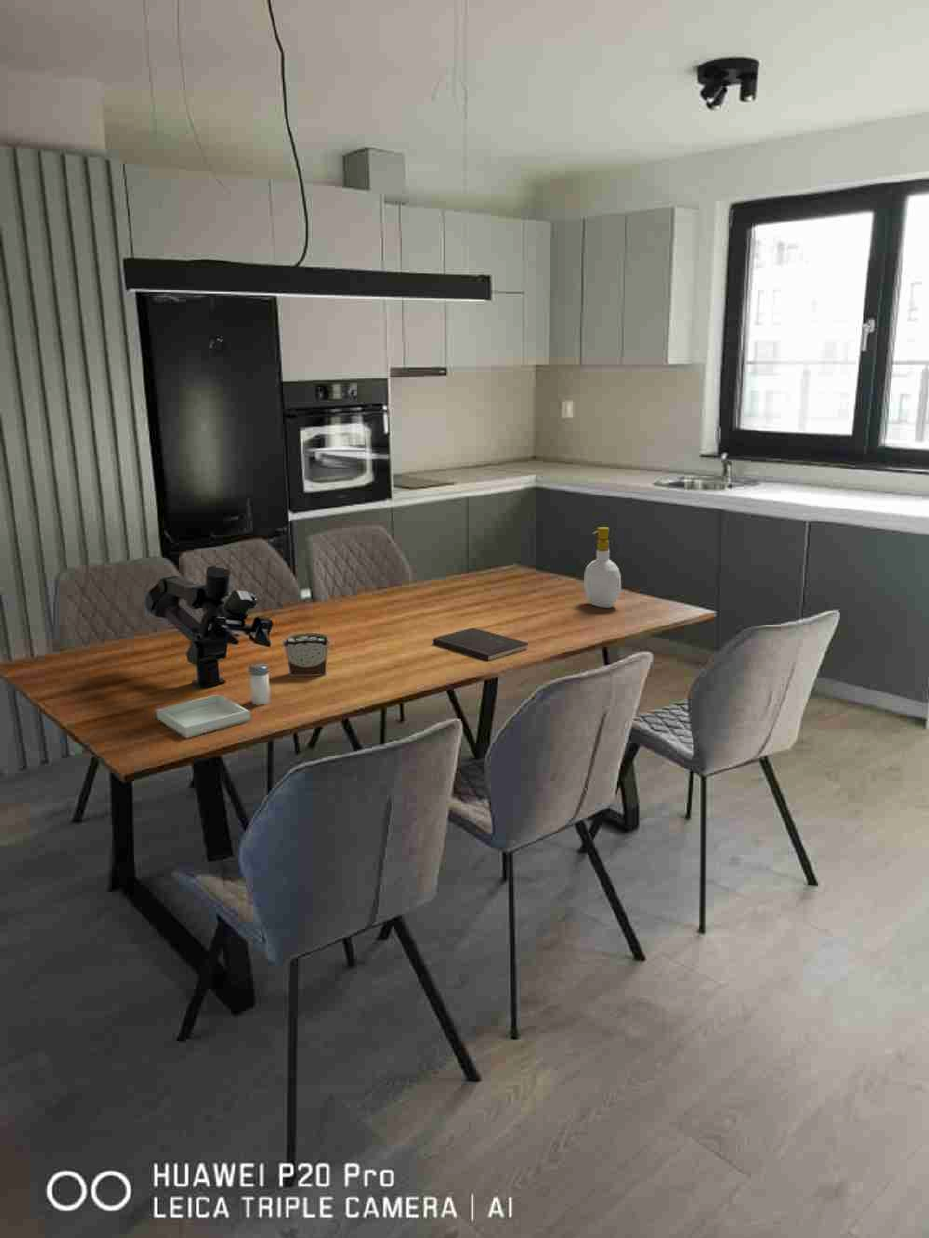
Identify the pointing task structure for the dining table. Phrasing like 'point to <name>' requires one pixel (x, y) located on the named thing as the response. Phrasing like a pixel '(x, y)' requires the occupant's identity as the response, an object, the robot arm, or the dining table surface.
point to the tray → (203, 715)
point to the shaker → (259, 684)
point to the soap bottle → (602, 575)
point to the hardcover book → (480, 644)
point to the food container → (306, 654)
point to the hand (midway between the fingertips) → (254, 644)
